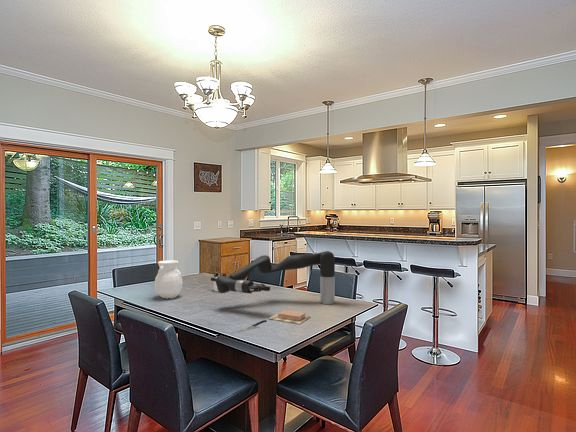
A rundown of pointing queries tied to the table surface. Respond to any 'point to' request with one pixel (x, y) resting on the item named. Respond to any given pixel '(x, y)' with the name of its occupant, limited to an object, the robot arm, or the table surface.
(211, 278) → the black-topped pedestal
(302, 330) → the table surface
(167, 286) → the white vase
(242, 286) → the robot arm
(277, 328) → the table surface
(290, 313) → the tile
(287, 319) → the board
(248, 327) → the kitchen knife
